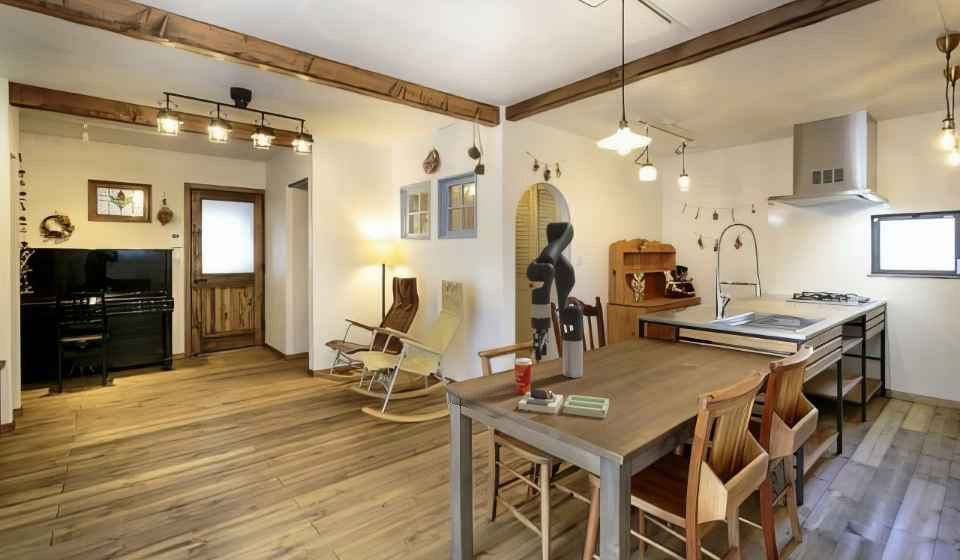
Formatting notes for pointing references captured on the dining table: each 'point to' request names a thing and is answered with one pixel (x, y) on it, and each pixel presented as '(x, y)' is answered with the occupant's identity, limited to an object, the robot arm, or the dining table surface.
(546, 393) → the cell
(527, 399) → the white battery holder
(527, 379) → the paper cup
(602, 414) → the tray
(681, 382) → the dining table surface
